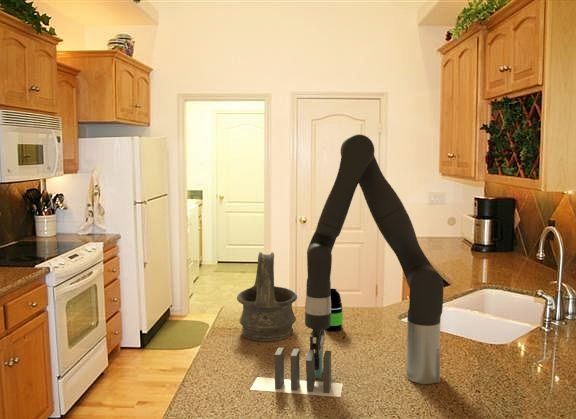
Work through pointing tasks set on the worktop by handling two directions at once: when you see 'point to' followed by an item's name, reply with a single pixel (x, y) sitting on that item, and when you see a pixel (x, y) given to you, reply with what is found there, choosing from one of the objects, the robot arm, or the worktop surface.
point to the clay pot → (266, 305)
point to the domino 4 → (319, 371)
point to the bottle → (335, 312)
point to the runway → (269, 385)
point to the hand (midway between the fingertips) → (317, 363)
